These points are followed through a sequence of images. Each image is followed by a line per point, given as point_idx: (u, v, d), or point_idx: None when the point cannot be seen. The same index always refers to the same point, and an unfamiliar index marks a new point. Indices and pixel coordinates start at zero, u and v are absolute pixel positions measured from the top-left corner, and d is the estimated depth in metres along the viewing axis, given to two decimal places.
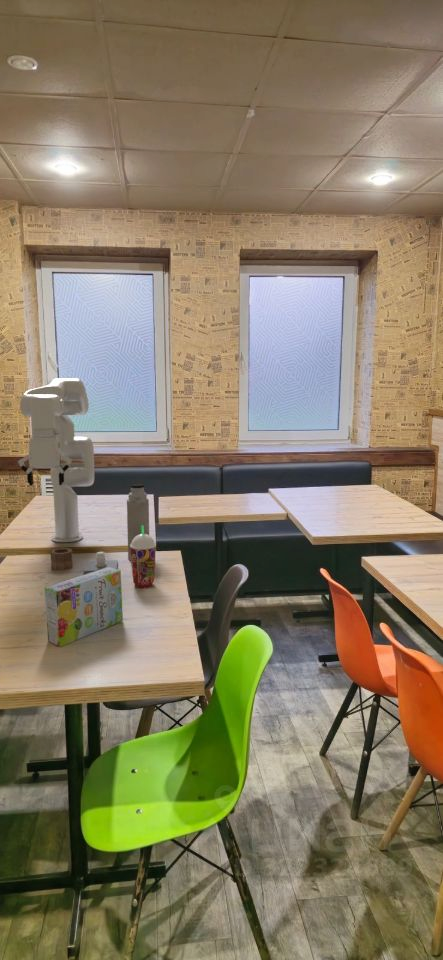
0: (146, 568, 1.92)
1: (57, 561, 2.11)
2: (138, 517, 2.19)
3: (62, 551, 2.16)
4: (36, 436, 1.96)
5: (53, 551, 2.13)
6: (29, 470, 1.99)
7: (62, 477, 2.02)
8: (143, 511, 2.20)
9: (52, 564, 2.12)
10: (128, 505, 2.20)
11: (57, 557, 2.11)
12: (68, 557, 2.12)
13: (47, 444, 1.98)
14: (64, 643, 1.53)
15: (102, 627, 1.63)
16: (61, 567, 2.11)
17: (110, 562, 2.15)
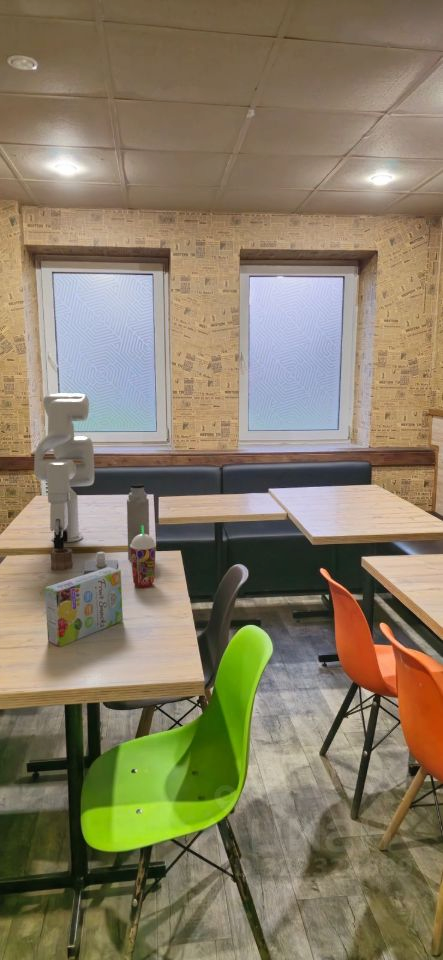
0: (146, 568, 1.92)
1: (57, 561, 2.11)
2: (138, 517, 2.19)
3: (62, 551, 2.16)
4: (67, 499, 2.09)
5: (53, 551, 2.13)
6: (62, 534, 2.07)
7: None
8: (143, 511, 2.20)
9: (52, 564, 2.12)
10: (128, 505, 2.20)
11: (57, 557, 2.11)
12: (68, 557, 2.12)
13: None
14: (64, 643, 1.53)
15: (102, 627, 1.63)
16: (61, 567, 2.11)
17: (110, 562, 2.15)
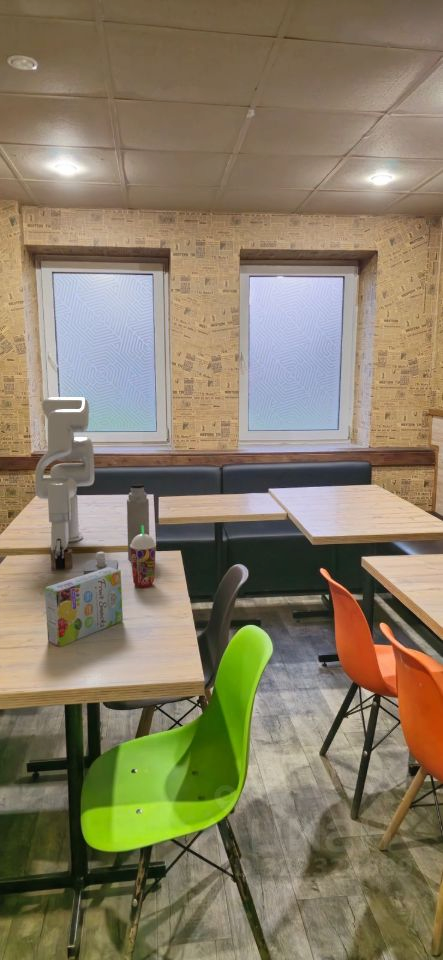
0: (146, 568, 1.92)
1: None
2: (138, 517, 2.19)
3: None
4: (68, 519, 2.10)
5: (53, 551, 2.13)
6: (63, 554, 2.10)
7: None
8: (143, 511, 2.20)
9: (52, 564, 2.12)
10: (128, 505, 2.20)
11: None
12: (68, 557, 2.12)
13: None
14: (64, 643, 1.53)
15: (102, 627, 1.63)
16: None
17: (110, 562, 2.15)
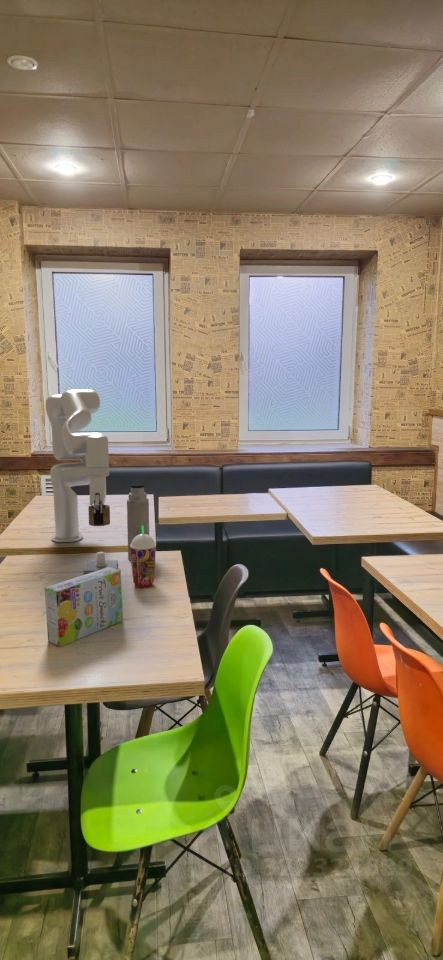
0: (146, 568, 1.92)
1: None
2: (138, 517, 2.19)
3: None
4: (107, 473, 2.05)
5: (91, 507, 2.08)
6: None
7: None
8: (143, 511, 2.20)
9: (90, 520, 2.07)
10: (128, 505, 2.20)
11: None
12: (106, 513, 2.07)
13: None
14: (64, 643, 1.53)
15: (102, 627, 1.63)
16: None
17: (110, 562, 2.15)
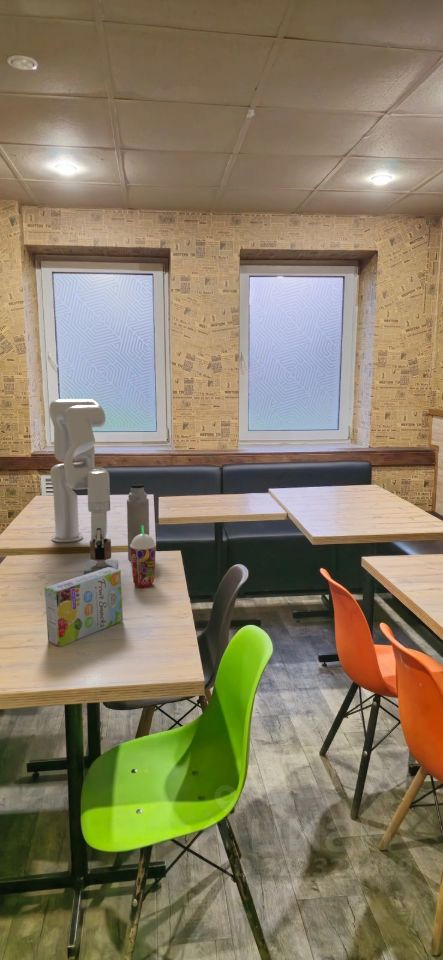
0: (146, 568, 1.92)
1: None
2: (138, 517, 2.19)
3: (101, 541, 2.13)
4: (108, 508, 2.07)
5: (92, 541, 2.10)
6: (103, 544, 2.07)
7: None
8: (143, 511, 2.20)
9: (91, 554, 2.09)
10: (128, 505, 2.20)
11: None
12: (107, 547, 2.09)
13: None
14: (64, 643, 1.53)
15: (102, 627, 1.63)
16: None
17: (110, 562, 2.15)
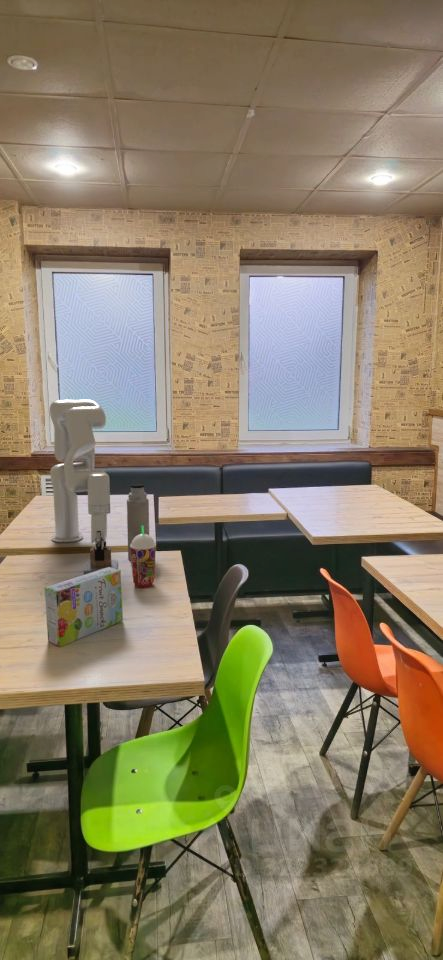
0: (146, 568, 1.92)
1: None
2: (138, 517, 2.19)
3: None
4: (108, 511, 2.08)
5: (92, 549, 2.11)
6: (103, 545, 2.06)
7: None
8: (143, 511, 2.20)
9: (91, 562, 2.10)
10: (128, 505, 2.20)
11: None
12: (107, 555, 2.10)
13: None
14: (64, 643, 1.53)
15: (102, 627, 1.63)
16: (100, 565, 2.09)
17: None
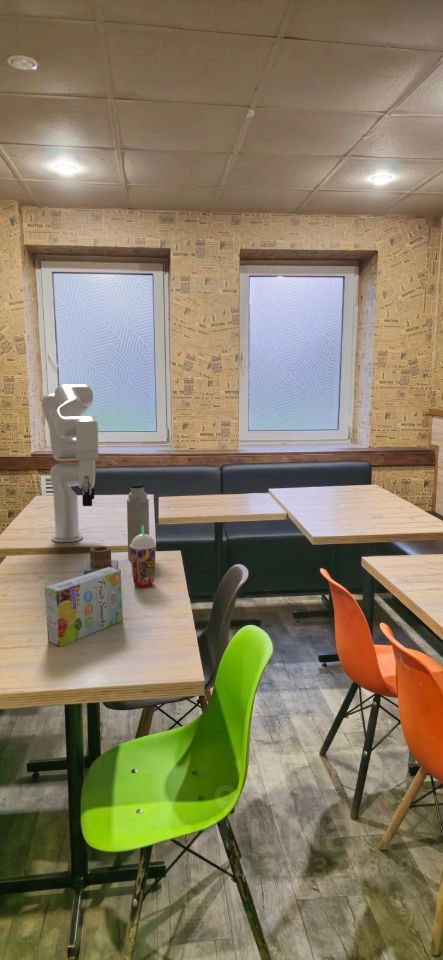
0: (146, 568, 1.92)
1: (96, 559, 2.08)
2: (138, 517, 2.19)
3: (101, 549, 2.14)
4: (96, 457, 2.09)
5: (92, 549, 2.11)
6: (90, 491, 2.08)
7: None
8: (143, 511, 2.20)
9: (91, 562, 2.10)
10: (128, 505, 2.20)
11: (97, 555, 2.08)
12: (107, 555, 2.10)
13: None
14: (64, 643, 1.53)
15: (102, 627, 1.63)
16: (100, 565, 2.09)
17: None
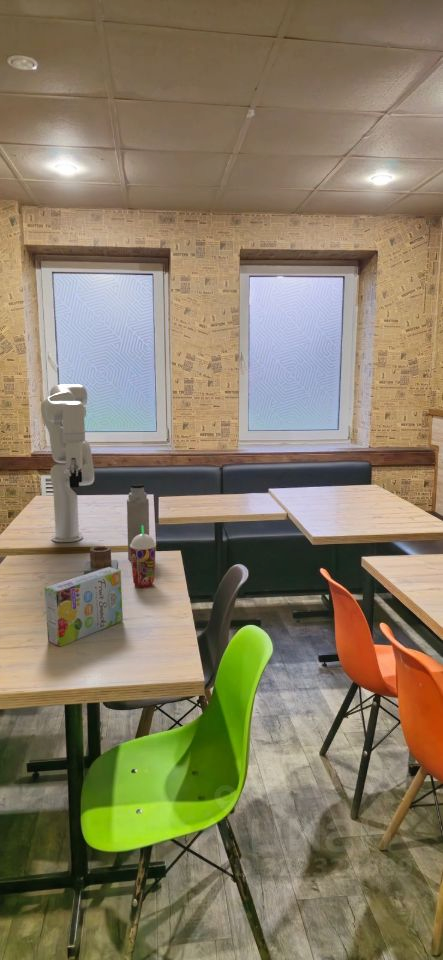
0: (146, 568, 1.92)
1: (96, 559, 2.08)
2: (138, 517, 2.19)
3: (101, 549, 2.14)
4: (83, 439, 2.14)
5: (92, 549, 2.11)
6: (77, 472, 2.13)
7: None
8: (143, 511, 2.20)
9: (91, 562, 2.10)
10: (128, 505, 2.20)
11: (97, 555, 2.08)
12: (107, 555, 2.10)
13: None
14: (64, 643, 1.53)
15: (102, 627, 1.63)
16: (100, 565, 2.09)
17: None
